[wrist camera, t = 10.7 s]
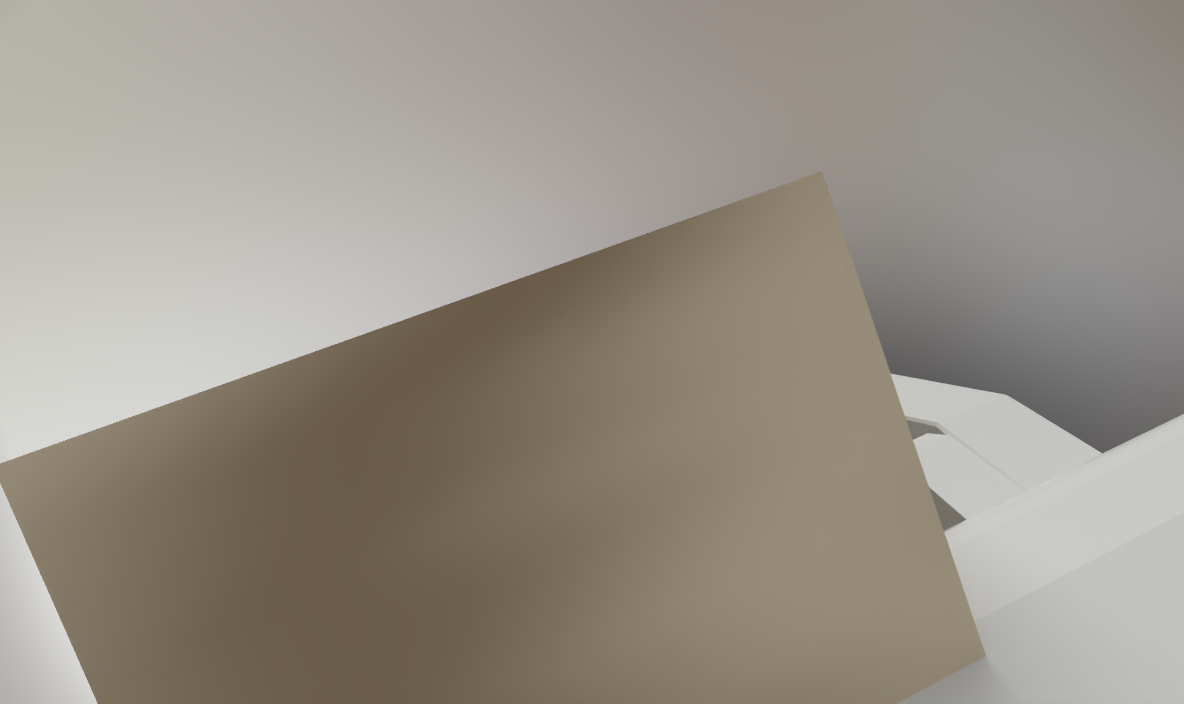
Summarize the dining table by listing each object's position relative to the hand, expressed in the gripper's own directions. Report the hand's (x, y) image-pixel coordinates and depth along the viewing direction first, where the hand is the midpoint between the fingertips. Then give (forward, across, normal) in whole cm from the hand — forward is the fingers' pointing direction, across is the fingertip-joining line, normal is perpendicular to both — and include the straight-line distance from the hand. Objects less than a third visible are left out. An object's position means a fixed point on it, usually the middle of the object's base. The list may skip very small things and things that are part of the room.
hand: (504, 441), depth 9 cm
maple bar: (+4, 0, +5) cm, 7 cm away
